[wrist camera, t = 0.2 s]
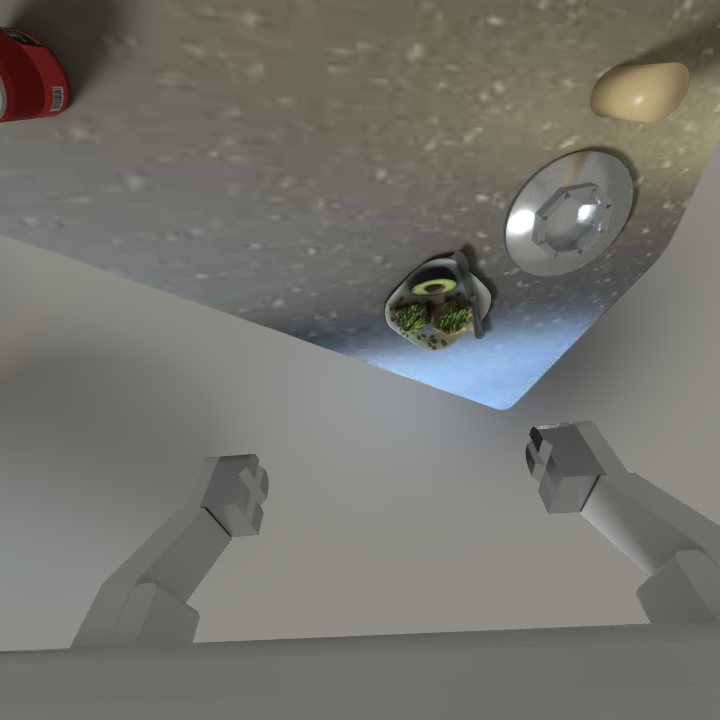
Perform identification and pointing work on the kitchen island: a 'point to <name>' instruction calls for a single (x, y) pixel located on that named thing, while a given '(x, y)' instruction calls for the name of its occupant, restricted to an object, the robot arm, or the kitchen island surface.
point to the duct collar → (568, 213)
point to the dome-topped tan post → (640, 91)
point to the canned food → (29, 78)
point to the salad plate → (438, 303)
